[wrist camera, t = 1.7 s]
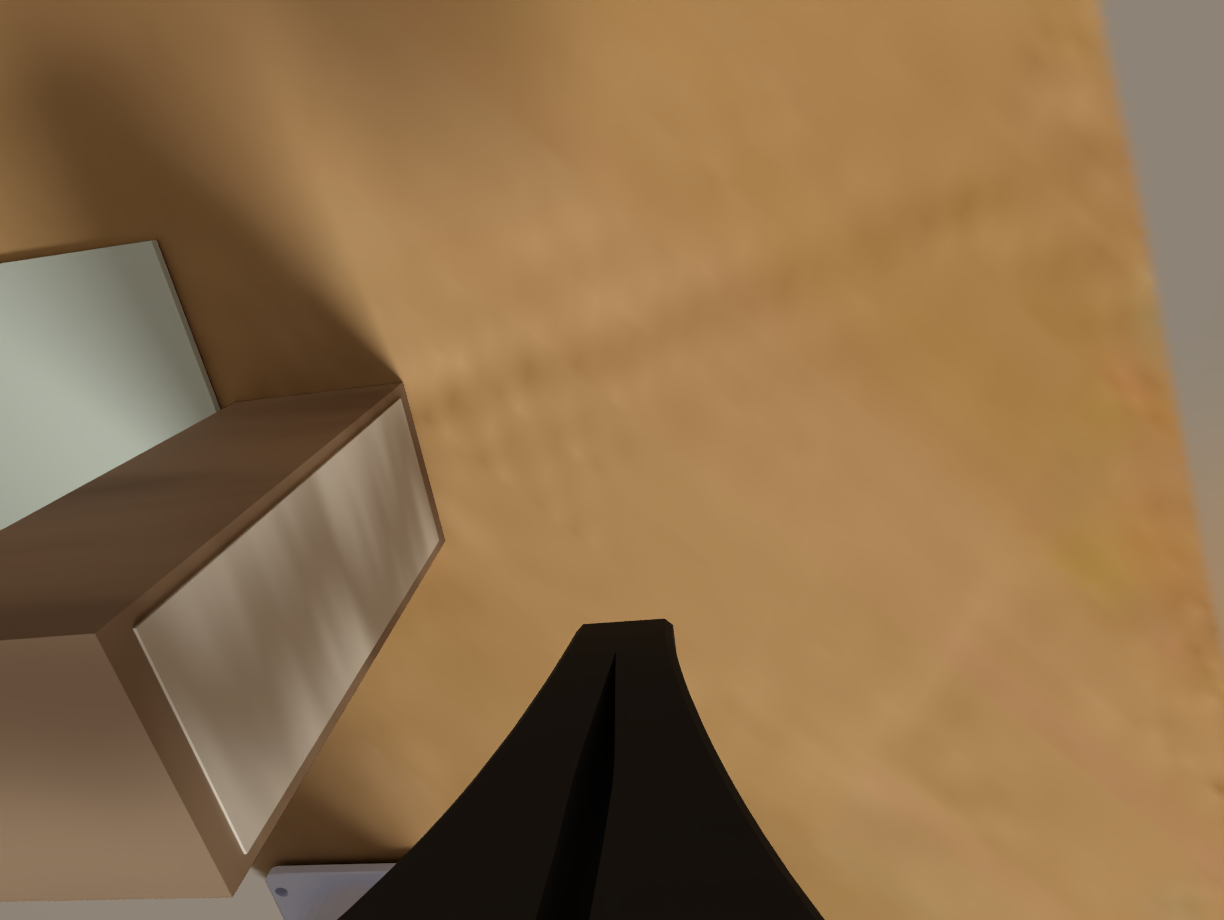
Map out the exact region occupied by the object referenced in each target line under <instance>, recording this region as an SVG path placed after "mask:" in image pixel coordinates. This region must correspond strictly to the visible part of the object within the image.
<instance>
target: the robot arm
mask: <svg viewBox="0 0 1224 920" xmlns="http://www.w3.org/2000/svg"><path fill="white" fill-rule="evenodd" d="M266 883H267V885H268V887H269V889H270V891H271V893H272V895H273V897H274V899H275V902H276V904H277V906H278V908H279V910H280V912H281V914H282V916H283V918H284V920H824V918H823V917H822V916H821V914H820V913H819V912H818V910H817V909H816V908H815V906H814V905H813V904H812V902H811V901H810V900H809V898H808V897H807V896H806V894H805V893H804V892H803V890H802V889H801V888H800V886H799V885H798V883H797V882H796V881H795V879H794V878H793V877H792V875H791V874H790V873H789V871H788V870H787V868H786V867H785V865H784V864H783V862H782V861H781V859H780V858H779V856H778V855H777V853H776V852H775V850H774V849H773V847H772V846H771V844H770V843H769V841H768V840H767V838H766V837H765V835H764V834H763V832H762V831H761V829H760V827H759V826H758V824H757V822H756V821H755V819H754V818H753V816H752V814H751V813H750V811H749V810H748V808H747V806H746V805H745V803H744V801H743V800H742V798H741V796H740V795H739V793H738V791H737V789H736V788H735V786H734V784H733V782H732V780H731V779H730V777H729V775H728V773H727V771H726V770H725V768H724V766H723V764H722V762H721V760H720V758H719V756H718V754H717V752H716V750H715V749H714V747H713V745H712V743H711V741H710V738H709V736H708V734H707V732H706V730H705V728H704V726H703V724H702V721H701V719H700V717H699V714H698V712H697V710H696V707H695V705H694V703H693V700H692V698H691V696H690V693H689V691H688V688H687V686H686V683H685V680H684V677H683V674H682V671H681V668H680V665H679V662H678V658H677V654H676V646H675V638H674V630H673V625H672V624H671V623H669V622H668V621H667V620H666V619H653V620H639V621H624V622H610V623H595V624H583V625H582V626H581V627H580V629H579V630H578V631H577V632H576V634H575V636H574V637H573V639H572V641H571V642H570V644H569V646H568V647H567V649H566V650H565V652H564V654H563V655H562V657H561V659H560V660H559V662H558V663H557V665H556V667H555V668H554V670H553V671H552V673H551V674H550V676H549V677H548V679H547V681H546V682H545V684H544V685H543V687H542V688H541V690H540V691H539V693H538V694H537V695H536V697H535V698H534V700H533V701H532V703H531V704H530V705H529V707H528V708H527V710H526V711H525V713H524V714H523V716H522V717H521V718H520V720H519V721H518V723H517V724H516V726H515V727H514V728H513V730H512V731H511V732H510V734H509V735H508V736H507V738H506V739H505V740H504V741H503V743H502V744H501V745H500V747H499V748H498V749H497V750H496V752H495V753H494V754H493V756H492V757H491V758H490V759H489V761H488V762H487V763H486V765H485V766H484V767H483V768H482V770H481V771H480V772H479V774H478V775H477V776H476V777H475V779H474V780H473V781H472V782H471V783H470V785H469V786H468V787H467V788H466V789H465V790H464V792H463V793H462V794H461V795H460V796H459V797H458V799H457V800H456V801H455V802H454V803H453V804H452V805H451V807H450V808H449V809H448V810H447V811H446V812H445V813H444V814H443V816H442V817H441V818H440V819H439V820H438V821H437V822H436V823H435V824H434V825H433V826H432V827H431V829H430V830H429V831H428V832H427V833H426V834H425V835H424V836H423V837H422V838H421V839H420V840H419V841H418V842H417V843H416V844H415V845H414V846H413V847H412V848H411V849H410V850H409V851H408V852H407V853H406V854H405V855H404V856H403V857H402V858H401V859H400V860H399V861H398V862H397V863H375V864H335V865H294V866H276V867H273V868H272V869H271V870H270V872H269V873H268V875H267V877H266Z"/></svg>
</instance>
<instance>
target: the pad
mask: <svg viewBox="0 0 1224 920" xmlns="http://www.w3.org/2000/svg"><path fill="white" fill-rule="evenodd" d="M218 411H220V407H219V404H218V402H217V399H216V396H215V394H214V391H213V388H212V386H211V383H210V380H209V378H208V375H207V372H206V370H205V367H204V364H203V362H202V359H201V357H200V354H199V351H198V349H197V346H196V343H195V341H194V338H193V335H192V333H191V330H190V327H189V325H188V322H187V319H186V317H185V314H184V311H183V309H182V306H181V303H180V301H179V298H178V296H177V293H176V290H175V288H174V285H173V282H172V280H171V277H170V274H169V272H168V269H167V266H166V264H165V261H164V258H163V256H162V253H161V250H160V248H159V245H158V243H157V240H151V241H145V242H138V243H132V244H125V245H119V246H112V247H105V248H99V249H92V250H86V251H79V252H73V253H66V254H59V255H53V256H46V257H40V258H33V259H27V260H20V261H13V262H7V263H0V530H2V529H4V528H6V527H8V526H9V525H11V524H13V523H15V522H17V521H18V520H20V519H22V518H24V517H26V516H28V515H29V514H31V513H33V512H35V511H37V510H39V509H40V508H42V507H44V506H46V505H48V504H50V503H51V502H53V501H55V500H57V499H59V498H61V497H62V496H64V495H66V494H68V493H70V492H72V491H73V490H75V489H77V488H79V487H81V486H83V485H84V484H86V483H88V482H90V481H92V480H93V479H95V478H97V477H99V476H101V475H103V474H104V473H106V472H108V471H110V470H112V469H114V468H115V467H117V466H119V465H121V464H123V463H125V462H126V461H128V460H130V459H132V458H134V457H136V456H137V455H139V454H141V453H143V452H145V451H147V450H148V449H150V448H152V447H154V446H156V445H158V444H159V443H161V442H163V441H165V440H167V439H168V438H170V437H172V436H174V435H176V434H178V433H179V432H181V431H183V430H185V429H187V428H189V427H190V426H192V425H194V424H196V423H198V422H200V421H201V420H203V419H205V418H207V417H209V416H211V415H212V414H214V413H216V412H218Z"/></svg>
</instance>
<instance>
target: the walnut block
mask: <svg viewBox="0 0 1224 920" xmlns="http://www.w3.org/2000/svg"><path fill="white" fill-rule="evenodd" d="M444 542H445V538H444V535H443V531H442V527H441V523H440V520H439V516H438V512H437V508H436V505H435V501H434V497H433V493H432V490H431V486H430V482H429V478H428V475H427V471H426V467H425V463H424V460H423V456H422V452H421V448H420V445H419V441H418V437H417V433H416V430H415V426H414V422H413V418H412V415H411V411H410V407H409V403H408V400H407V396H406V392H405V388H404V385H403V382H401V383H392V384H384V385H376V386H367V387H359V388H350V389H342V390H333V391H325V392H316V393H308V394H299V395H291V396H282V397H274V398H265V399H257V400H248V401H240V402H234V403H233V404H231V405H229V406H227V407H225V408H223V409H222V410H220V411H218V412H216V413H214V414H212V415H211V416H209V417H207V418H205V419H203V420H201V421H200V422H198V423H196V424H194V425H192V426H190V427H189V428H187V429H185V430H183V431H181V432H179V433H178V434H176V435H174V436H172V437H170V438H168V439H167V440H165V441H163V442H161V443H159V444H158V445H156V446H154V447H152V448H150V449H148V450H147V451H145V452H143V453H141V454H139V455H137V456H136V457H134V458H132V459H130V460H128V461H126V462H125V463H123V464H121V465H119V466H117V467H115V468H114V469H112V470H110V471H108V472H106V473H104V474H103V475H101V476H99V477H97V478H95V479H93V480H92V481H90V482H88V483H86V484H84V485H83V486H81V487H79V488H77V489H75V490H73V491H72V492H70V493H68V494H66V495H64V496H62V497H61V498H59V499H57V500H55V501H53V502H51V503H50V504H48V505H46V506H44V507H42V508H40V509H39V510H37V511H35V512H33V513H31V514H29V515H28V516H26V517H24V518H22V519H20V520H18V521H17V522H15V523H13V524H11V525H9V526H8V527H6V528H4V529H2V530H0V902H12V901H13V902H15V901H64V900H65V901H67V900H113V899H114V900H118V899H167V898H168V899H169V898H218V897H219V898H220V897H233V895H234V893H235V892H236V890H237V889H238V887H239V885H240V884H241V882H242V880H243V879H244V877H245V875H246V873H247V872H248V870H249V869H250V867H251V865H252V864H253V862H254V860H255V859H256V857H257V855H258V854H259V852H260V850H261V849H262V847H263V845H264V843H265V842H266V840H267V838H268V837H269V835H270V833H271V832H272V830H273V828H274V827H275V825H276V823H277V822H278V820H279V818H280V817H281V815H282V813H283V812H284V810H285V808H286V807H287V805H288V803H289V802H290V800H291V798H292V797H293V795H294V793H295V792H296V790H297V788H298V787H299V785H300V783H301V782H302V780H303V778H304V777H305V775H306V773H307V771H308V770H309V768H310V766H311V765H312V763H313V761H314V760H315V758H316V756H317V755H318V753H319V751H320V750H321V748H322V746H323V745H324V743H325V741H326V740H327V738H328V736H329V735H330V733H331V731H332V730H333V728H334V726H335V725H336V723H337V721H338V720H339V718H340V716H341V715H342V713H343V711H344V710H345V708H346V706H347V705H348V703H349V701H350V699H351V698H352V696H353V694H354V693H355V691H356V689H357V688H358V686H359V684H360V683H361V681H362V679H363V678H364V676H365V674H366V673H367V671H368V669H369V668H370V666H371V664H372V663H373V661H374V659H375V658H376V656H377V654H378V653H379V651H380V649H381V648H382V646H383V644H384V643H385V641H386V639H387V638H388V636H389V634H390V632H391V631H392V629H393V627H394V626H395V624H396V622H397V621H398V619H399V617H400V616H401V614H402V612H403V611H404V609H405V607H406V606H407V604H408V602H409V601H410V599H411V597H412V596H413V594H414V592H415V591H416V589H417V587H418V586H419V584H420V582H421V581H422V579H423V577H424V576H425V574H426V572H427V571H428V569H429V567H430V566H431V564H432V562H433V560H434V559H435V557H436V555H437V554H438V552H439V550H440V549H441V547H442V545H443V544H444Z"/></svg>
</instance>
